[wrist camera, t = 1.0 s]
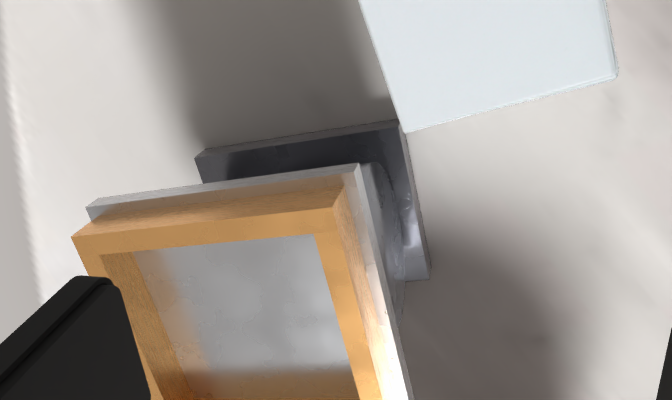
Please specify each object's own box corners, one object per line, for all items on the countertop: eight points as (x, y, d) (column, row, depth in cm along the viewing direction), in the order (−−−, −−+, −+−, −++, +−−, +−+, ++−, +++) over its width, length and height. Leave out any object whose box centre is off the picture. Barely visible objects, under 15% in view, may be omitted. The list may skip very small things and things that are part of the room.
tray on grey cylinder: (397, 93, 33) (341, 193, 21) (435, 286, 38) (407, 455, 26) (190, 128, 37) (47, 229, 25) (249, 298, 42) (152, 448, 30)
